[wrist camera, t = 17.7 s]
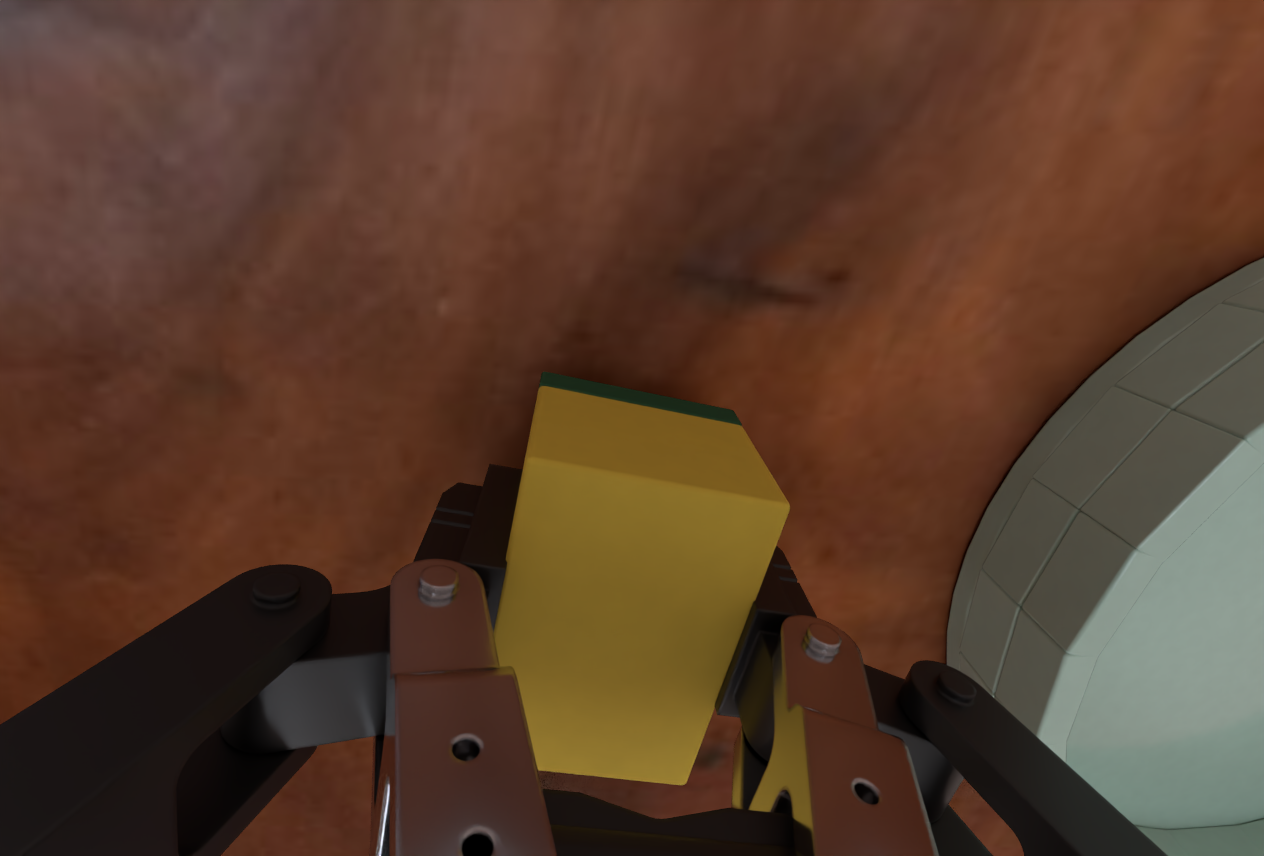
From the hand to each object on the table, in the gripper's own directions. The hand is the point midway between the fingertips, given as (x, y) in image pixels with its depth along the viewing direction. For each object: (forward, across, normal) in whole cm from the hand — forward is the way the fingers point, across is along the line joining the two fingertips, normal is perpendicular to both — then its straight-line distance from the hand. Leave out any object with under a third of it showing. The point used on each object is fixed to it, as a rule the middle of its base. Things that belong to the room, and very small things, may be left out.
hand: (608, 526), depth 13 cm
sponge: (+1, 0, 0) cm, 1 cm away
